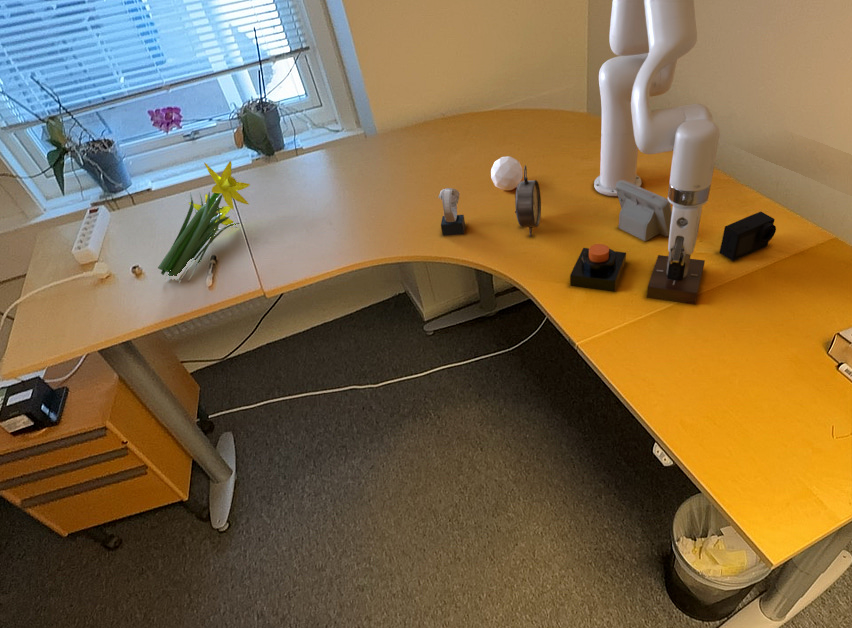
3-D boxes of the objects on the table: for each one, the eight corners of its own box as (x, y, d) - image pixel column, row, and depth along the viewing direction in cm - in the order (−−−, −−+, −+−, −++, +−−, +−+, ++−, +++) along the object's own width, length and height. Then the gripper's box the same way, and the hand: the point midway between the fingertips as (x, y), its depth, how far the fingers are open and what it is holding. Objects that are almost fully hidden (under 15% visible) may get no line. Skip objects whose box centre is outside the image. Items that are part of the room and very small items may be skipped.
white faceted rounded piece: (532, 184, 158) (518, 172, 167) (518, 154, 152) (505, 143, 161) (505, 201, 159) (493, 188, 168) (490, 172, 153) (479, 159, 162)
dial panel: (656, 266, 130) (658, 254, 128) (702, 271, 127) (705, 259, 125) (646, 298, 123) (647, 285, 120) (694, 304, 120) (697, 292, 117)
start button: (591, 250, 129) (591, 242, 127) (611, 253, 127) (611, 244, 126) (586, 261, 126) (586, 253, 125) (606, 264, 125) (606, 256, 123)
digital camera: (736, 264, 128) (742, 236, 122) (718, 253, 131) (724, 225, 126) (771, 248, 130) (779, 220, 125) (753, 238, 134) (760, 210, 129)
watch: (466, 221, 152) (459, 181, 144) (463, 238, 146) (456, 197, 138) (445, 222, 152) (437, 183, 144) (441, 239, 147) (433, 199, 139)
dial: (668, 265, 125) (671, 242, 120) (689, 268, 123) (692, 244, 119) (664, 277, 122) (667, 254, 118) (685, 280, 121) (689, 256, 116)
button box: (583, 258, 135) (583, 239, 131) (625, 263, 132) (626, 244, 128) (570, 286, 128) (570, 267, 125) (614, 292, 125) (615, 273, 122)
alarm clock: (536, 239, 143) (532, 176, 131) (515, 239, 144) (509, 177, 132) (542, 216, 150) (539, 155, 138) (522, 216, 151) (517, 155, 139)
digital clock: (678, 237, 137) (683, 196, 129) (646, 250, 135) (650, 208, 127) (637, 209, 147) (640, 169, 139) (607, 220, 145) (609, 180, 137)
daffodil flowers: (144, 281, 149) (209, 184, 163) (202, 305, 153) (260, 208, 167) (130, 246, 134) (202, 143, 149) (194, 273, 138) (259, 170, 152)
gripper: (703, 216, 103) (689, 298, 116) (714, 171, 113) (700, 251, 126) (660, 212, 105) (651, 293, 118) (675, 169, 115) (666, 248, 129)
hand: (677, 271), depth 122 cm, fingers closed on dial, 4 cm apart
